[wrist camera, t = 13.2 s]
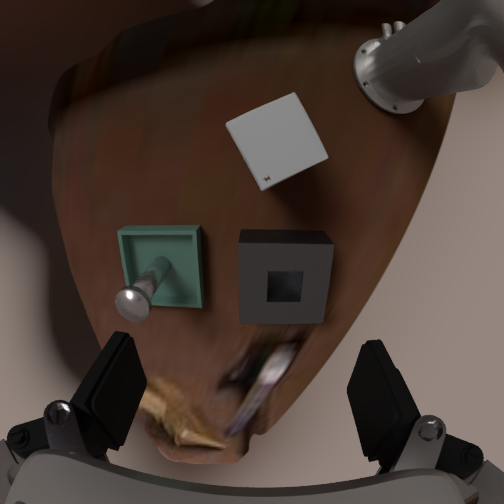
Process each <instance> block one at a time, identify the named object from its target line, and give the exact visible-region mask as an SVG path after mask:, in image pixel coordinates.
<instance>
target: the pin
mask: <svg viewBox="0 0 504 504" xmlns="http://www.w3.org/2000/svg"><path fill="white" fill-rule="evenodd" d="M170 269H171V263H170V261H169V260H168V259H167V258H166V257H164V256H158V257H156V258H155V259H154V260H153V261H152V262H151V264H150V265H149V266H148V267H147V268H146V269H145V271H144V272H143V273H142V274H141V275H140V277H139V278H138V279H137V280H136V281H135V283H134V284H133V285H132V286H126V287H124V288H122V290H121V291H120V292H119V293H118V294H117V296H116V299H115V304H116V308H117V310H118V311H119V313H120V314H121V315H122V316H123V317H124V318H126V319H127V320H129V321H132V322H141V321H143V320H145V319H146V318H147V316H148V314H149V312H150V311H151V307H152V304H151V299H152V297H153V295H154V294H155V292H156V291H157V289H158V288H159V286H160V285H161V283H162V281H163V280H164V278H165V277H166V275H167V274H168V272H169V271H170Z"/></svg>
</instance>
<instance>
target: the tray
mask: <svg viewBox="0 0 504 504" xmlns="http://www.w3.org/2000/svg"><path fill="white" fill-rule="evenodd" d="M117 232H118V239H119V246H120V253H121V259H122V265H123V270H124V276H125V281H126V286H132V285H133V284H134V283H135V281H136V280H137V279H138V278H139V277H140V275H141V274H142V273H143V272H144V271H145V269H146V268H147V267H148V266H149V265H150V264H151V262H152V261H153V260H154V259H155V258H156V257H158V256H164V257H166V258H167V259H168V260H169V261H170V263H171V269H170V271H169V272H168V274H167V275H166V277H165V278H164V280H163V281H162V283H161V285H160V286H159V288H158V289H157V291H156V292H155V294H154V295H153V297H152V299H151V304H152V305H158V306H173V307H191V308H202V306H203V303H204V300H205V294H204V281H203V267H202V251H201V232H200V225H148V226H124V227H123V228H121V229H120V230H118V231H117Z"/></svg>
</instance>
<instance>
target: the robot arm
mask: <svg viewBox="0 0 504 504" xmlns="http://www.w3.org/2000/svg"><path fill="white" fill-rule="evenodd" d="M382 29H383V33H384V36H382V37H381V38H380V39H373V40H369V41H367V42H365V43H364V44H363V45H362V46H360V48H359V49H358V50H357V51H356V54H355V56H354V61H353V71H354V75H355V78H356V81H357V83H358V85H359V87H360V89H361V90H362V92H363V93H364V94H365V96H366V97H367V98H368V99H369V100H370V101H371V102H372V103H373V104H375V105H376V106H378V107H379V108H381V109H383V110H385V111H387V112H390V113H394V114H406V113H410V112H413V111H415V110H416V109H418V108H419V107H420V106H421V104H422V103H423V101H424V99H426V98H431V97H436V96H441V95H446V94H451V93H457V92H463V91H469V90H474V89H478V88H481V87H483V86H485V85H486V84H487V83H488V82H489V81H490V80H491V79H492V77H493V75H494V73H495V70H496V68H497V64H498V65H499V66H500V67H501V69H502V70H503V72H504V0H442V1H441V2H439V3H438V4H437V5H435V6H434V7H432V8H431V9H429V10H428V11H426V12H425V13H423V14H422V15H421V16H419V17H418V18H416V19H415V20H413V21H412V22H410V23H409V24H407V25H405V23H403V22H394V29H395V34H393V35H392V33H391V32H392V31H391V26H390V25H389V24H382ZM363 84H365V86H364V85H363ZM393 108H394V109H393ZM146 386H147V380H146V376H145V374H144V371H143V368H142V365H141V362H140V359H139V356H138V352H137V349H136V346H135V343H134V339H133V338H132V337H130V335H129V333H125V332H118V331H115V332H114V333H113V335H112V336H111V338H110V339H109V341H108V342H107V344H106V345H105V347H104V348H103V350H102V351H101V353H100V354H99V356H98V358H97V359H96V360H95V362H94V363H93V365H92V366H91V368H90V370H89V371H88V373H87V374H86V376H85V378H84V379H83V381H82V382H81V384H80V386H79V387H78V389H77V391H76V393H75V394H74V396H73V398H72V399H71V401H70V403H69V402H67V401H64V400H56V401H54V402H51V403H50V404H49V405H47V407H46V408H45V411H44V417H42V418H39V419H36V420H33V421H30V422H26V423H23V424H19V425H16V426H14V427H13V428H11V430H10V431H9V433H8V435H7V440H6V441H5V440H4V439H3V440H1V441H0V504H504V472H502V471H501V470H500V469H499V468H497V467H496V466H495V465H494V464H492V463H491V462H490V461H488V460H486V461H484V460H483V459H484V457H483V452H482V450H481V449H480V448H479V447H478V446H476V445H474V444H472V443H469V442H467V441H464V440H461V439H459V438H456V437H454V436H451V435H449V434H446V426H445V424H444V423H443V421H442V420H441V419H440V418H438V417H436V416H433V415H425V416H422V417H421V415H420V413H419V411H418V408H417V406H416V404H415V402H414V400H413V398H412V395H411V393H410V391H409V389H408V387H407V385H406V383H405V381H404V379H403V377H402V375H401V373H400V371H399V370H398V369H397V368H395V366H394V364H393V362H392V360H391V358H390V356H389V354H388V352H387V350H386V348H385V346H384V344H383V342H382V341H381V340H380V339H379V340H369V341H366V343H365V344H363V345H362V347H361V349H360V352H359V355H358V358H357V361H356V364H355V367H354V370H353V373H352V376H351V378H350V381H349V383H348V386H347V395H348V399H349V402H350V406H351V409H352V413H353V416H354V420H355V424H356V427H357V431H358V435H359V439H360V443H361V447H362V451H363V454H364V456H365V457H367V456H368V460H369V462H371V461H375V460H378V461H379V465H380V468H379V469H378V471H377V473H376V475H375V476H370V477H365V478H360V479H355V480H349V481H342V482H336V483H329V484H320V485H311V486H300V487H278V488H250V487H247V488H246V487H229V486H218V485H208V484H200V483H192V482H186V481H180V480H175V479H169V478H164V477H160V476H154V475H151V474H147V473H143V472H139V471H135V470H131V469H128V468H124V467H121V466H118V465H114V464H111V463H110V462H109V460H108V457H107V455H106V452H107V449H108V448H110V449H113V450H116V451H118V450H119V447H120V446H123V445H124V443H125V440H126V437H127V434H128V432H129V429H130V427H131V424H132V422H133V419H134V416H135V414H136V411H137V409H138V406H139V404H140V401H141V399H142V396H143V394H144V391H145V389H146Z"/></svg>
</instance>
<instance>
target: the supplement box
mask: <svg viewBox="0 0 504 504" xmlns="http://www.w3.org/2000/svg"><path fill="white" fill-rule="evenodd" d="M226 127H227V129H228V131H229V132H230V134H231V136H232V138H233V139H234V141H235V143H236V145H237V147H238V149H239V150H240V152H241V154H242V156H243V158H244V160H245V161H246V163H247V165H248V167H249V169H250V170H251V172H252V174H253V176H254V178H255V180H256V182H257V183H258V185H259V187H260V189H261V191H264V190H266V189H268V188H270V187H272V186H273V185H275V184H277V183H279V182H281V181H283V180H285V179H287V178H289V177H291V176H293V175H295V174H297V173H299V172H301V171H303V170H305V169H307V168H309V167H311V166H313V165H315V164H317V163H319V162H321V161H323V160H326V159H328V155H327V153H326V150H325V148H324V146H323V144H322V142H321V140H320V138H319V136H318V134H317V132H316V130H315V128H314V126H313V124H312V122H311V121H310V119H309V117H308V115H307V113H306V111H305V109H304V108H303V106H302V104H301V102H300V101H299V99H298V97H297V96H296V94H295V93H292V94H289V95H287V96H284V97H282V98H279V99H277V100H275V101H272V102H270V103H268V104H265V105H263V106H261V107H258V108H256V109H254V110H252V111H250V112H247V113H245V114H243V115H241V116H239V117H237V118H235V119H233V120H231V121H229V122H227V123H226Z"/></svg>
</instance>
